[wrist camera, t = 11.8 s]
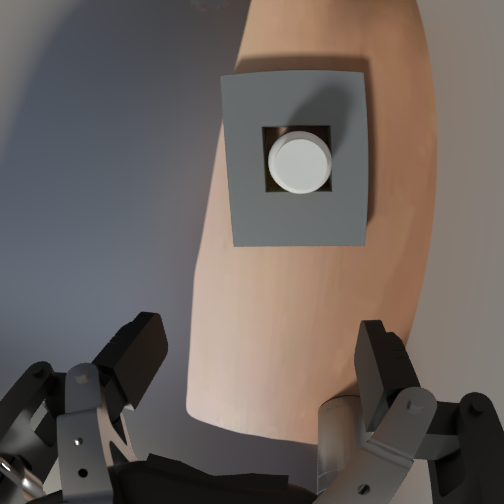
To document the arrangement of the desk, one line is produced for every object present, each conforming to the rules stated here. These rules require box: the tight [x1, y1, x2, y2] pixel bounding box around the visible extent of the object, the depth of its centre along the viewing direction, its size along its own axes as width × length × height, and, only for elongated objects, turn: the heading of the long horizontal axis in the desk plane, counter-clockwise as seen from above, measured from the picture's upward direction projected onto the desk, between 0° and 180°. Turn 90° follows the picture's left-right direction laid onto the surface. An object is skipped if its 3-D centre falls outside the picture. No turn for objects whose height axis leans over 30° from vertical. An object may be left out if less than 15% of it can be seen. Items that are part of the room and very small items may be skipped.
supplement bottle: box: [268, 131, 332, 194], centre depth 24 cm, size 5×5×10 cm
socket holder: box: [220, 70, 368, 247], centre depth 27 cm, size 18×14×3 cm
